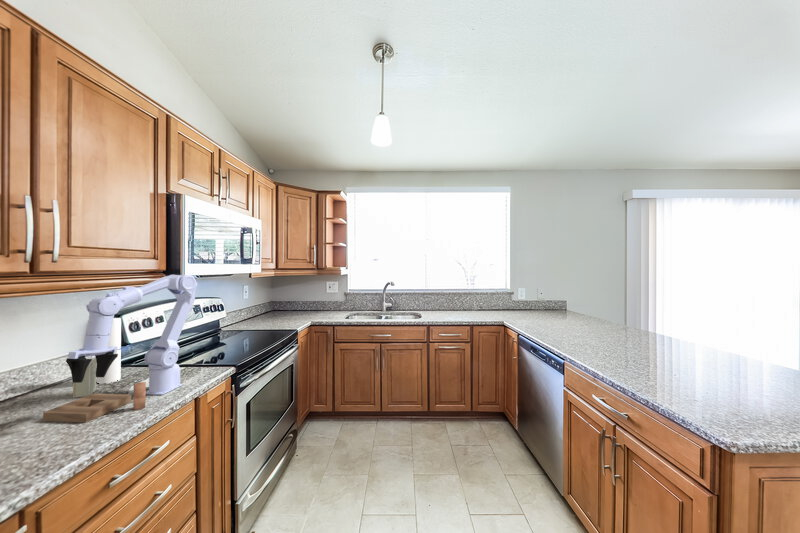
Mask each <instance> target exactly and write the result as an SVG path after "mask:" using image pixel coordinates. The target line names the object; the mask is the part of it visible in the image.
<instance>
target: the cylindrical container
mask: <svg viewBox="0 0 800 533" xmlns="http://www.w3.org/2000/svg"><path fill="white" fill-rule="evenodd" d="M108 347H118V348H117V353H113V354H118V357H117V358H116V359H115V360H114V361H113V362H112V364H111V365H110V367H109V369H108V371H107V373H106V375H105V377H96V382H97V383H99V384H98V385H104V384H103V383H106V384H110V383H111V382H112V383H115V382H118V381H120V380H121V379H122V377H121V374H122V373H121V372H122V368H121V366H122V363H121V362H122V361H121V360H122V358H121V357H122V355H121V354H122V318H121V317H114V319H113V324H112V329H111V334H110V339H109V345H108ZM117 380H118V381H117ZM97 383H96V384H97ZM112 383H111V384H112Z"/></svg>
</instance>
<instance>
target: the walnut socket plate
mask: <svg viewBox="0 0 800 533" xmlns="http://www.w3.org/2000/svg"><path fill="white" fill-rule="evenodd" d="M129 403H132V395H131V394H117V393H92V394H91V395H88V396H85V397H79V398H78V399H75V400H73V401H70V402H68V403H65V404H62V405H59V406H56V407H54V408H52V409H49V410H47V411H43V412H42V414H43V415H42V418H43V419H42V421H43V422H61V423H62V422H63V423H64V422H66V423H88V422H91V421H93V420H96V419H97V418H99V417H101V416H104V415H105V414H108V413H111V412H113V411H115V410H117V409H119V408H121V407H123V406H125V405H127V404H129Z"/></svg>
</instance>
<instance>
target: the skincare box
mask: <svg viewBox="0 0 800 533" xmlns="http://www.w3.org/2000/svg"><path fill="white" fill-rule="evenodd" d="M91 359H92V360H91V362H90V363H89V365H88V367H87V369H86V372H85V375H84V379H83V381H82V382H81V383H73V382H72V383H73V384H72V388H73V389H72V398H73V399H75V398H83V397H85V396H88V395H91V394H94V392H95V391H96V390H97V383H96V368H97V362H96V357H95V358H92V357H91Z"/></svg>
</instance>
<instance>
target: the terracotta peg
mask: <svg viewBox="0 0 800 533" xmlns="http://www.w3.org/2000/svg"><path fill="white" fill-rule="evenodd" d="M146 387H147V386H146V382H145V381H141V382H135V383H134V384H133V395H132V396H133V401H132V402H133V406H132V407H133V408H132V409H133V411H140V410H143V409H145V408H146V394H145V393H146V391H147V390H146Z"/></svg>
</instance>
